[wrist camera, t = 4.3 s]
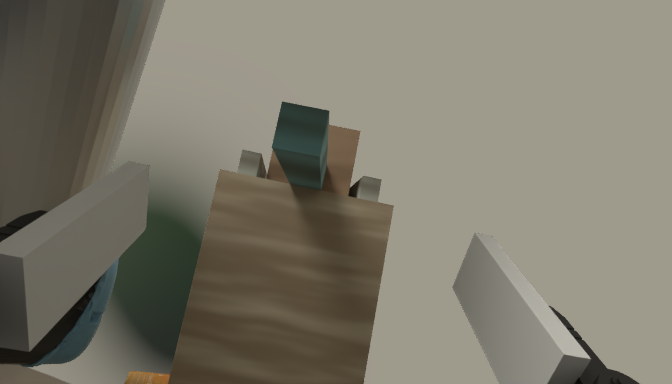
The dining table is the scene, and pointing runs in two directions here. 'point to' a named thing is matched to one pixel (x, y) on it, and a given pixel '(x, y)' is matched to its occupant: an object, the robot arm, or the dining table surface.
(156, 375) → the small box
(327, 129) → the teal and brown block
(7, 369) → the dining table surface
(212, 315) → the wooden board
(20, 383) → the dining table surface
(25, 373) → the dining table surface
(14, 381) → the dining table surface
